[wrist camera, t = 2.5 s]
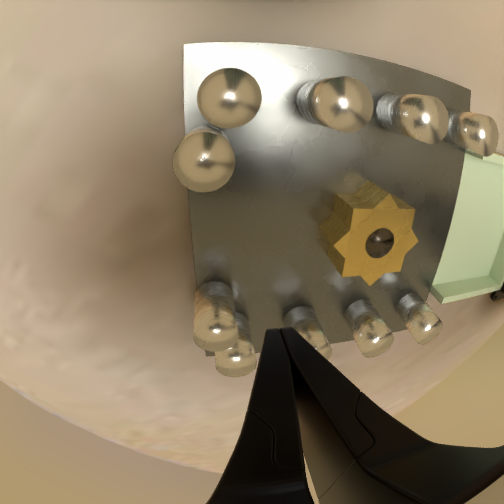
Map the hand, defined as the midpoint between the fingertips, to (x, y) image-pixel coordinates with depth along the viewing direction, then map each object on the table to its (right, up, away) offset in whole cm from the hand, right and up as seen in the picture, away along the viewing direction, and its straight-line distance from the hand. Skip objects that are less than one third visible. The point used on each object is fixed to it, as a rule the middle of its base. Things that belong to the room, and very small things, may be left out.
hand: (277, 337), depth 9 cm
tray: (+18, +5, +10) cm, 21 cm away
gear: (+6, +4, +8) cm, 11 cm away
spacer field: (+5, +5, +8) cm, 11 cm away
